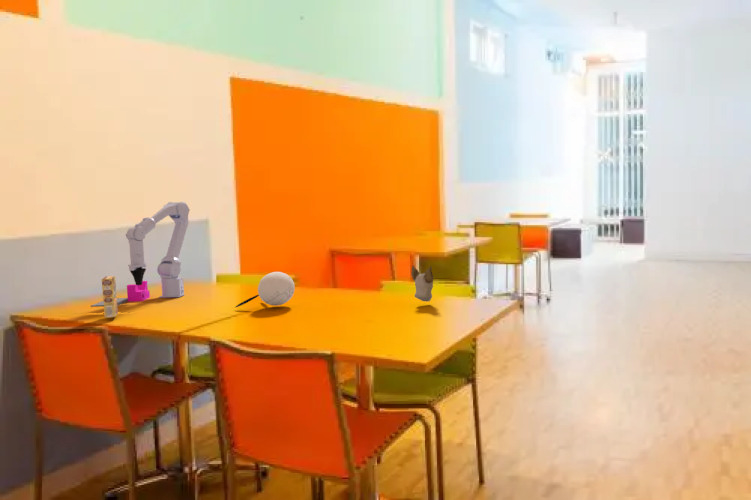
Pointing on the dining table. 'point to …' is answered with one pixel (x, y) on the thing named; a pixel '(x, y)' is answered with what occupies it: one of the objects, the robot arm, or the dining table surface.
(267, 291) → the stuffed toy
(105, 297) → the candy box
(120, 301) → the rubber mat
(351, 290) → the dining table surface
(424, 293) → the ceramic sculpture
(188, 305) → the dining table surface
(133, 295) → the toy block
